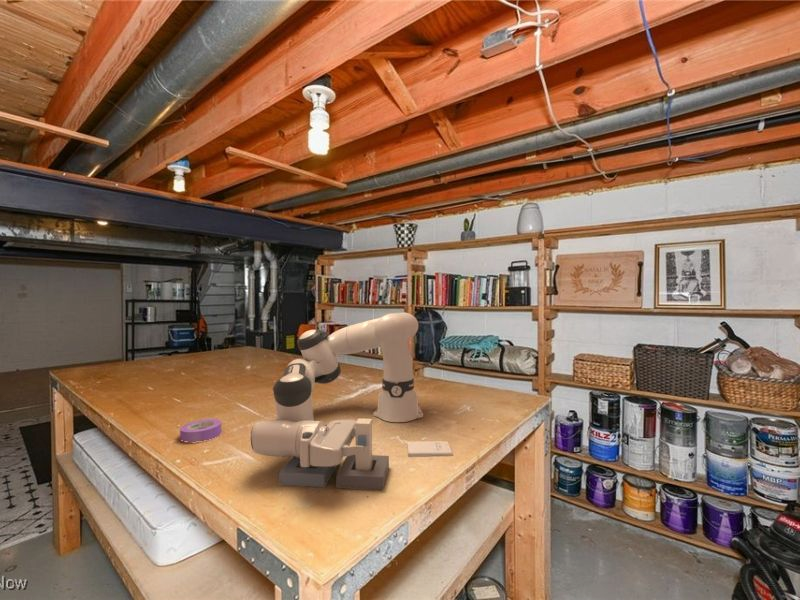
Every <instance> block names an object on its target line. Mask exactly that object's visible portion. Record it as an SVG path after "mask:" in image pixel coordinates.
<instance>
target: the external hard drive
mask: <svg viewBox="0 0 800 600" xmlns="http://www.w3.org/2000/svg"><path fill="white" fill-rule="evenodd" d="M406 447H407V457H449V455H451V457H452V456H453V451H452V449H451V446H450V444H449V441H447V440H445V441H444V440H443V441H440V440H439V441H438V440H436V441H434V440H432V441H431V440H430V441H417V440H415V441H414V440H413V441H406Z"/></svg>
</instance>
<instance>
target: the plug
mask: <svg viewBox="0 0 800 600" xmlns="http://www.w3.org/2000/svg"><path fill="white" fill-rule="evenodd" d="M356 421H357V422H356V423H355V437H354V438H355V445H357V444H363V445H364V452H363V454H355V455H356V470H365V471H372V455H373V418H357V420H356Z"/></svg>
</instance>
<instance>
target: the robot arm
mask: <svg viewBox="0 0 800 600" xmlns="http://www.w3.org/2000/svg"><path fill="white" fill-rule="evenodd" d="M418 321H419V320H417V318H416V317H415V316H414V315H412V314H411V313H408V312H404V311H403V312H393V313H387V314H384V315H383V316H381V317H378V318H374V319H370V320H366V321H362V322H359V323H354V324H351V325H348V326H344V327H342V328H339V329H337V330H335V331H334V332H332V333H331V334H330V332H328V331H323V330H321V329H318V328H317V329H316V328H313V329H310V330H307V331H305V332H303V333H302V334H301V335H299V337H297V341H296V343H297V348H298V350H299V351H300V352H301V355H302V358H296V359H295V358H294V359H293V360H291V361H290V362H289V363H288V364H287V366H286V367H285V369H284V370H283V374H282V376H281V377H280V378H279V379H277V381H276V382H275V384H274V385H273V386H272V392H273V397H274V400H275V402H274V403H275V409H276V417H275V418H273V419H270V420H269V419H267V420H261V421H256V422H255V423H254V424H253V426H252V428H251V431H250V445H251V449H252V452H253V453H255V454H257V455H259V456H266V457H276V458H285V457H289V456H292V457H293V456H295V457H298V458H300V466H301V467H309V466H310V465H312V466H319V467H329V466H335V465H337V466H339V464H341V461H342V460H343V458H344V457H347V456H351V455H354V454H355V455H356V454H363V452H364V445H363V444H357V445H356V444H355V445H354V444H353V445H351V443H352V442H353V440H354V438H355V423H356V422H357V420H355V419H334V420H331V421H330V422H329V423H328V424H325V423H324V421H322V420H314V417H315V416H314V408H313V407H314V406H313V398H312V397H313V396H312V393H313V391H314V389H315V384H322V385H326V384H330V383H332V382H334V381H335V380H336V379H338V378H339V376H340V374H341V372H342V369H341V365H340V362H338V359H337V356H338V355H345V356H346V355H352V354H356V353H360V352H365V351H369V350H373V349H378V348H380V351H381V354H382V363H383V368H382V370H383V373H382V374H383V375H382V376H383V377H382V381H381V389H382V390H381V391H380V392H379V393H378V398H377V399H378V400H377V409H376V410H374V412H373V414H372V415H373V417H375V418H376V417H377V418H379V419H381V420H382V421H384V422H390V423H406V422H407V423H408V422H411V421H413V420H416V419H421V418H424V413H423V411H422V409H421V407H420V404H419V401H418V400H419V399H418V397H419V395H418V394H417V392H416V391H415V390H414V388H415V380H414V374H413V366H414V365H413V364H414V363H413V360H414V359H413V356H412V355H411V352H410V347H409V346H410V345H409V340H411V339H412V338H413V337H414V336H415V335H416V333H417V332H418V330H419V322H418ZM336 355H337V356H336Z"/></svg>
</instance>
